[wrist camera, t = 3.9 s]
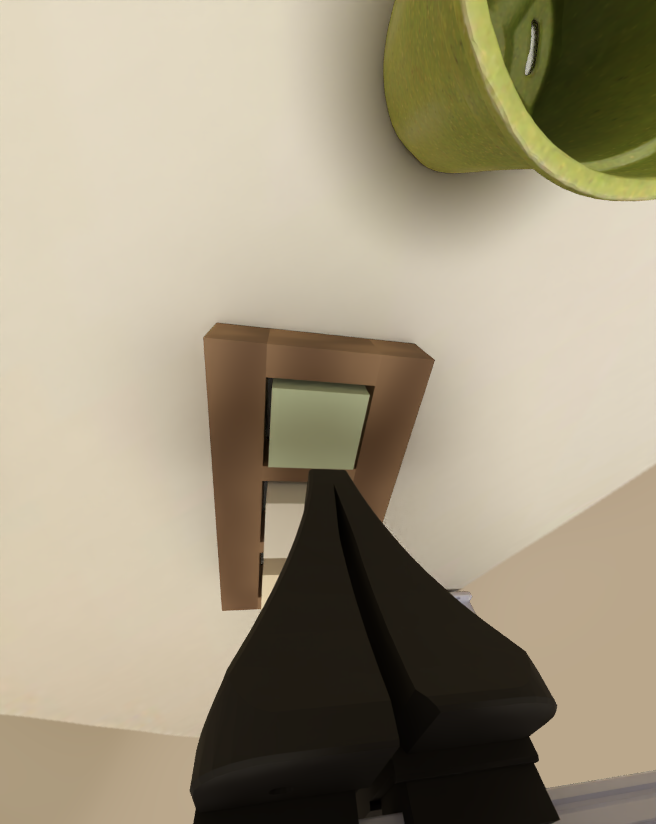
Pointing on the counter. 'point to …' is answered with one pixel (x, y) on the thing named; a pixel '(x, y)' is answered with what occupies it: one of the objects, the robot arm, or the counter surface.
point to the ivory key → (282, 516)
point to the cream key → (270, 576)
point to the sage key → (315, 424)
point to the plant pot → (528, 90)
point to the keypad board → (249, 449)
